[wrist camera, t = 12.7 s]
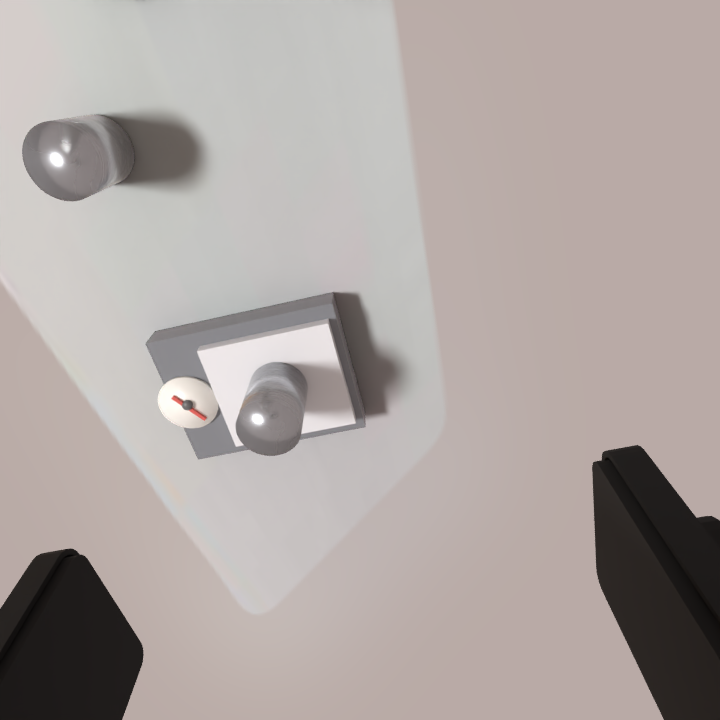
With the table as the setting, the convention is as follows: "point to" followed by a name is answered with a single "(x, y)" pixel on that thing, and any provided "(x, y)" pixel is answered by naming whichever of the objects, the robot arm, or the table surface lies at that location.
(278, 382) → the cylinder
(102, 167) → the cylinder
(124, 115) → the table surface
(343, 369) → the scale
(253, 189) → the table surface
